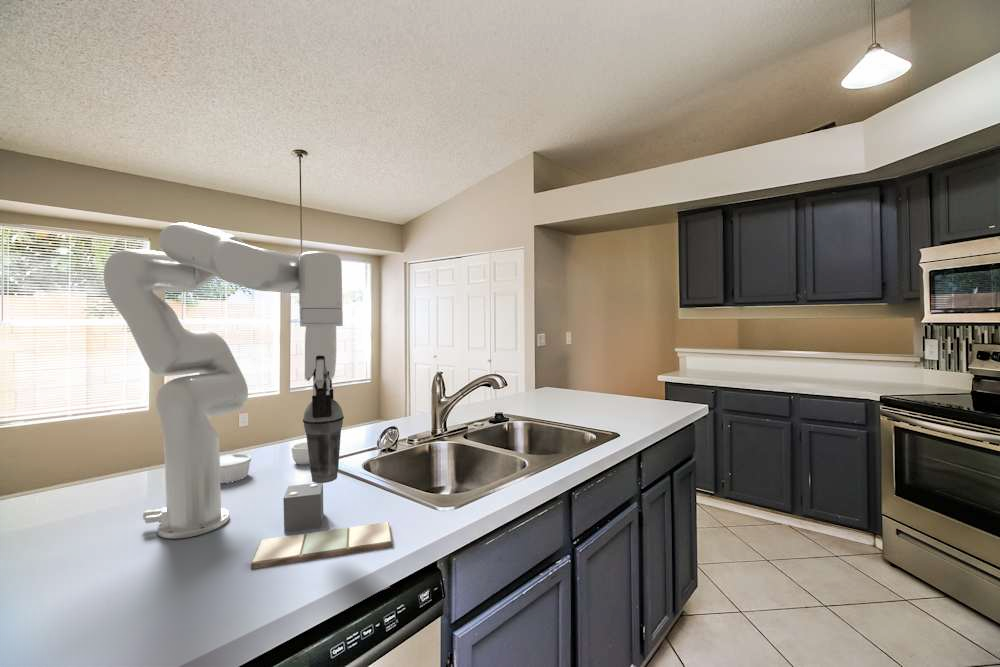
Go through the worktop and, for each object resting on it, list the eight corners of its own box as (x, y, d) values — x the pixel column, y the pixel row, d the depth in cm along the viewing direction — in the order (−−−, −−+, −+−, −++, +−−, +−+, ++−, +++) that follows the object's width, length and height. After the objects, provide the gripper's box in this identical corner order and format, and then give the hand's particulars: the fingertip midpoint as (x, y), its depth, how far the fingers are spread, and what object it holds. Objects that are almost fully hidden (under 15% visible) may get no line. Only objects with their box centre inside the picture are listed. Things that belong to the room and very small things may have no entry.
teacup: (294, 468, 131) (294, 450, 131) (289, 462, 137) (289, 444, 137) (330, 462, 137) (329, 444, 137) (323, 455, 143) (323, 439, 143)
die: (284, 532, 92) (283, 497, 92) (289, 517, 98) (288, 485, 98) (321, 527, 94) (320, 493, 94) (323, 513, 101) (322, 481, 100)
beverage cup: (349, 471, 90) (348, 371, 89) (337, 485, 82) (335, 377, 81) (312, 472, 89) (310, 371, 88) (297, 486, 82) (294, 377, 81)
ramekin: (260, 473, 128) (260, 455, 127) (227, 487, 117) (227, 467, 117) (228, 470, 130) (227, 452, 130) (193, 484, 119) (192, 464, 119)
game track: (250, 568, 78) (250, 563, 78) (261, 544, 87) (261, 539, 87) (392, 546, 86) (392, 541, 86) (389, 525, 94) (388, 521, 94)
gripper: (304, 318, 92) (306, 406, 93) (293, 318, 75) (296, 425, 76) (343, 318, 94) (345, 403, 95) (341, 318, 78) (343, 421, 78)
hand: (323, 412), depth 85 cm, fingers closed on beverage cup, 6 cm apart
